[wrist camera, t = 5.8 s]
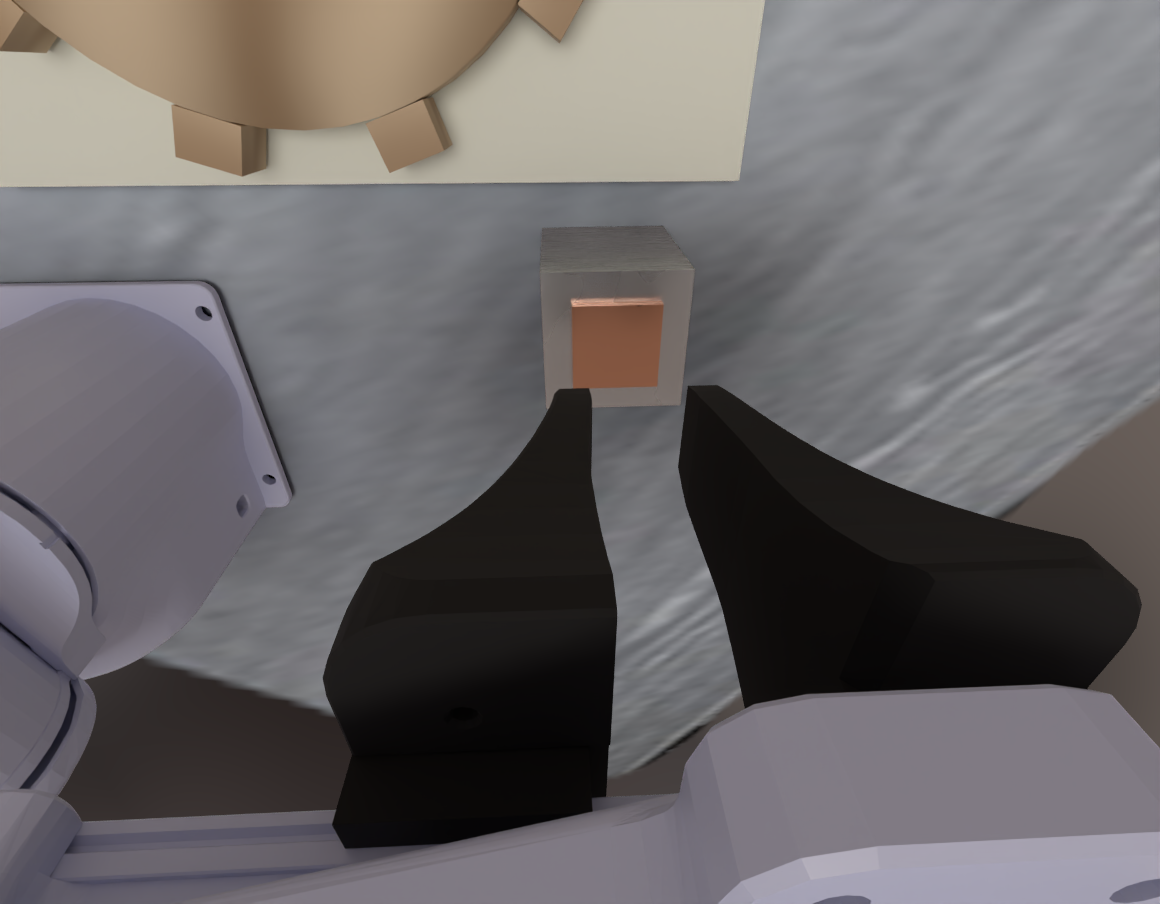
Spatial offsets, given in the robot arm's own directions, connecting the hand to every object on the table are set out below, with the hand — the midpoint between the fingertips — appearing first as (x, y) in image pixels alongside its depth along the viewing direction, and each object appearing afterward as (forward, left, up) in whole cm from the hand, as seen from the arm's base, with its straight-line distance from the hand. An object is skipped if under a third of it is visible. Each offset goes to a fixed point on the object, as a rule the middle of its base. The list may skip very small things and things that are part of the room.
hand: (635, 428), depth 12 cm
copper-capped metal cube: (0, 0, -10) cm, 10 cm away
